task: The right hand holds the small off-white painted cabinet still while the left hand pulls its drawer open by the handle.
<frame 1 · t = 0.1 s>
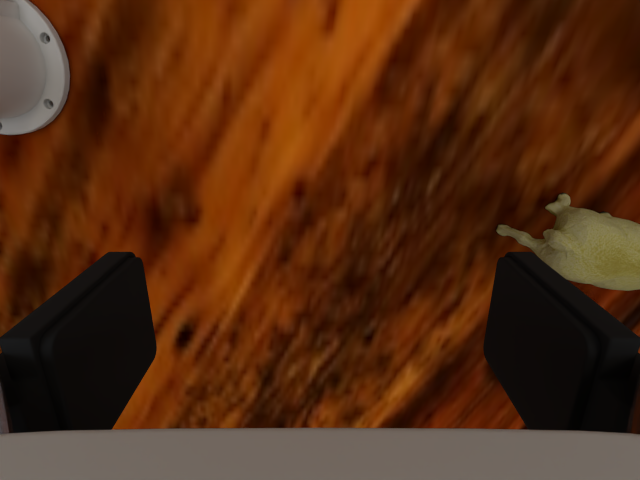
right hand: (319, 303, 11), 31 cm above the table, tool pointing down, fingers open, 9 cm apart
toy: (577, 231, 43), on the table
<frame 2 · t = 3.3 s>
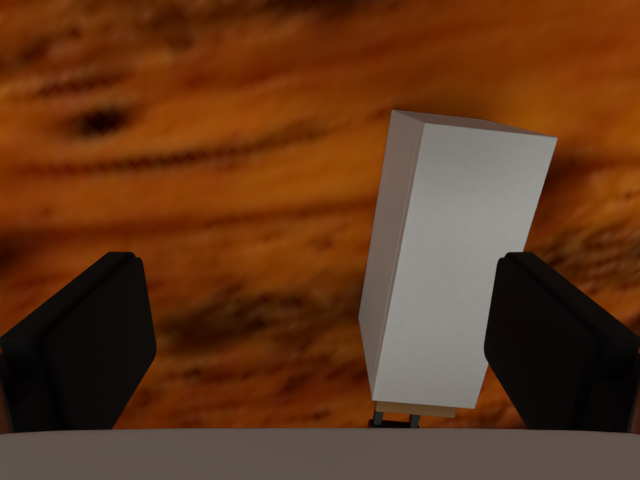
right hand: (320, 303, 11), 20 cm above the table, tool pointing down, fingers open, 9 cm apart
cabinet: (415, 227, 31), on the table
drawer: (416, 319, 29), point 5 cm above the table, slide at 0.5 cm
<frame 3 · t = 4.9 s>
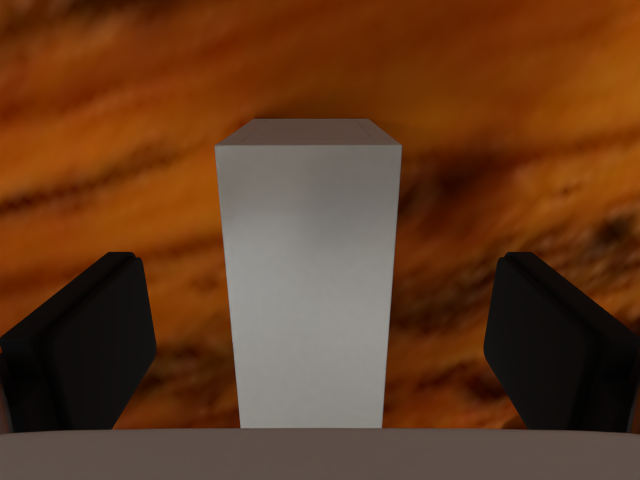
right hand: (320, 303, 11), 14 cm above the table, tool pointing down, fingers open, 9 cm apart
cabinet: (312, 255, 26), on the table
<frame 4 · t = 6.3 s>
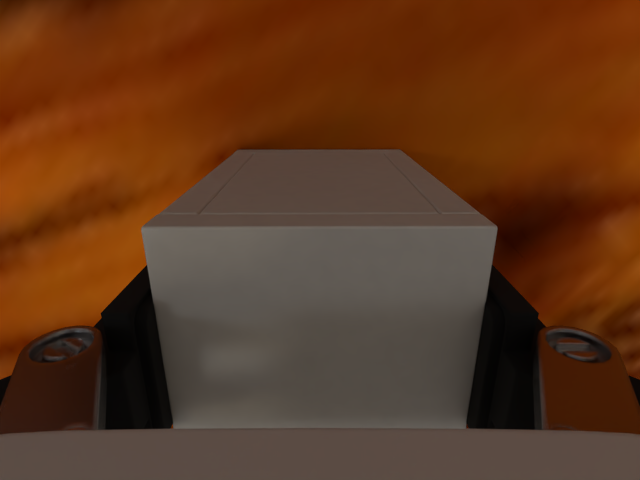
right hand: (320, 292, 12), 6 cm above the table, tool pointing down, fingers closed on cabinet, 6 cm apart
cabinet: (319, 330, 19), on the table, touching right hand
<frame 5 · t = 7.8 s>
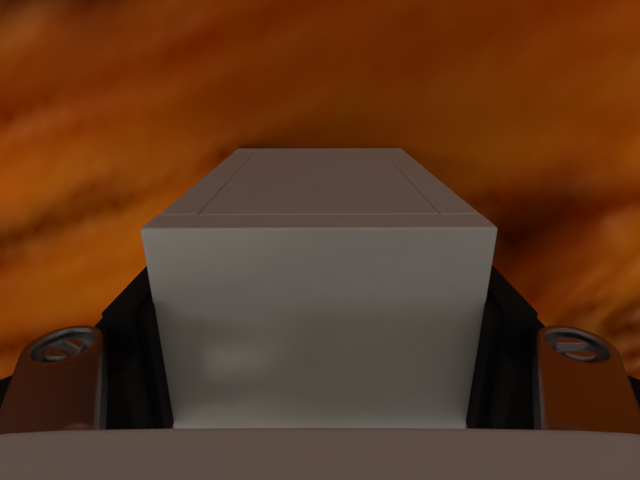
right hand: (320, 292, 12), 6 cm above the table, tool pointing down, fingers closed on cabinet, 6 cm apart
cabinet: (319, 328, 19), on the table, touching right hand
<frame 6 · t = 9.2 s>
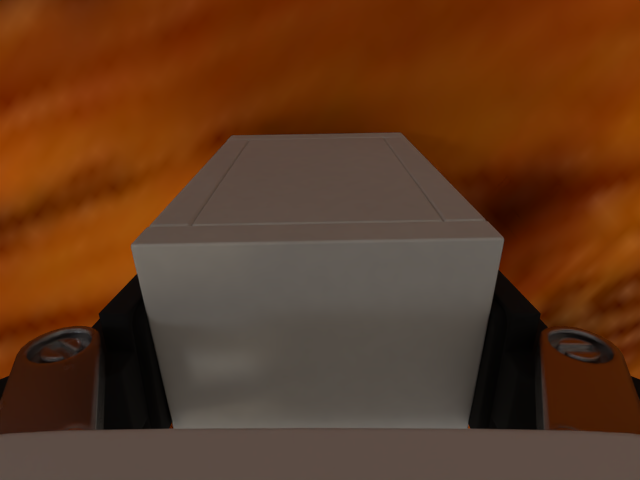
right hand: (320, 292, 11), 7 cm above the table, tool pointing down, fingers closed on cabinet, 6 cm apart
cabinet: (319, 314, 19), point 1 cm above the table, touching right hand
when the right hand's fingers open (7 cm above the table, at t = 10.9 s): cabinet stays where it is, on the table.
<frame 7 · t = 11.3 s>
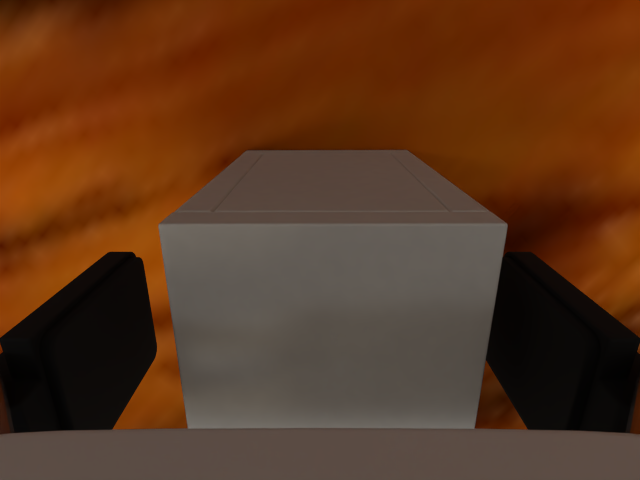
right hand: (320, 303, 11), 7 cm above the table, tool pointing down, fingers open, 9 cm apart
cabinet: (326, 329, 19), on the table
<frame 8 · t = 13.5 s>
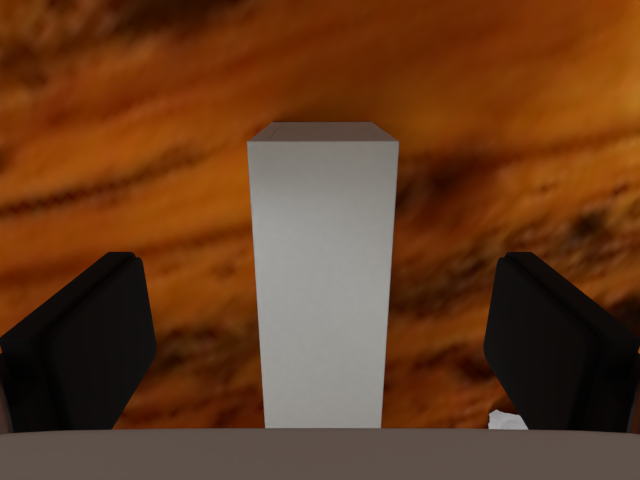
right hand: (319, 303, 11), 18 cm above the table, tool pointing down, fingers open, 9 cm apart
cabinet: (322, 243, 29), on the table
seashell: (520, 427, 35), on the table
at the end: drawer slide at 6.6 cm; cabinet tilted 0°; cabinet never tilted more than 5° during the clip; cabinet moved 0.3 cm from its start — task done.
